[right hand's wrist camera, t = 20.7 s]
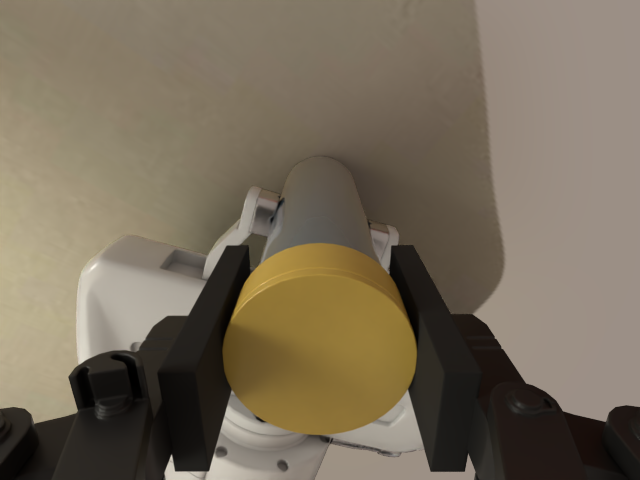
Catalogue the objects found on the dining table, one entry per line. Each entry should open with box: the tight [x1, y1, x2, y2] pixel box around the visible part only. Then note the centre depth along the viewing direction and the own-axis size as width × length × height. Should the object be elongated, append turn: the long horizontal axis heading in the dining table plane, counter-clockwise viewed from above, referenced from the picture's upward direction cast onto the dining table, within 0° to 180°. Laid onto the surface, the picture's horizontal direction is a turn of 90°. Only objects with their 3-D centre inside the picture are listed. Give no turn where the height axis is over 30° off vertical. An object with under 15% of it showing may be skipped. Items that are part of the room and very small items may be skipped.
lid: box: [222, 243, 417, 435], centre depth 11 cm, size 5×5×2 cm
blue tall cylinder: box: [258, 156, 382, 266], centre depth 18 cm, size 4×4×16 cm
